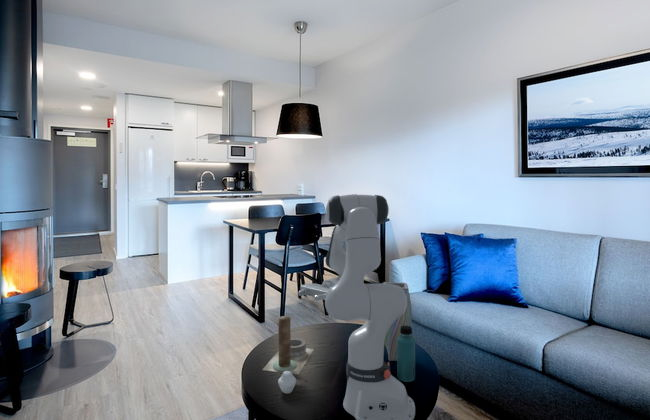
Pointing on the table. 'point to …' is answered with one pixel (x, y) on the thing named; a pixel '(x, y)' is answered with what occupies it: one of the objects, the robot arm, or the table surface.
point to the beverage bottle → (406, 355)
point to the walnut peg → (284, 341)
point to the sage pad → (283, 369)
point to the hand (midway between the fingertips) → (307, 296)
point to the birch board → (293, 356)
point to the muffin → (287, 382)
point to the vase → (398, 325)
